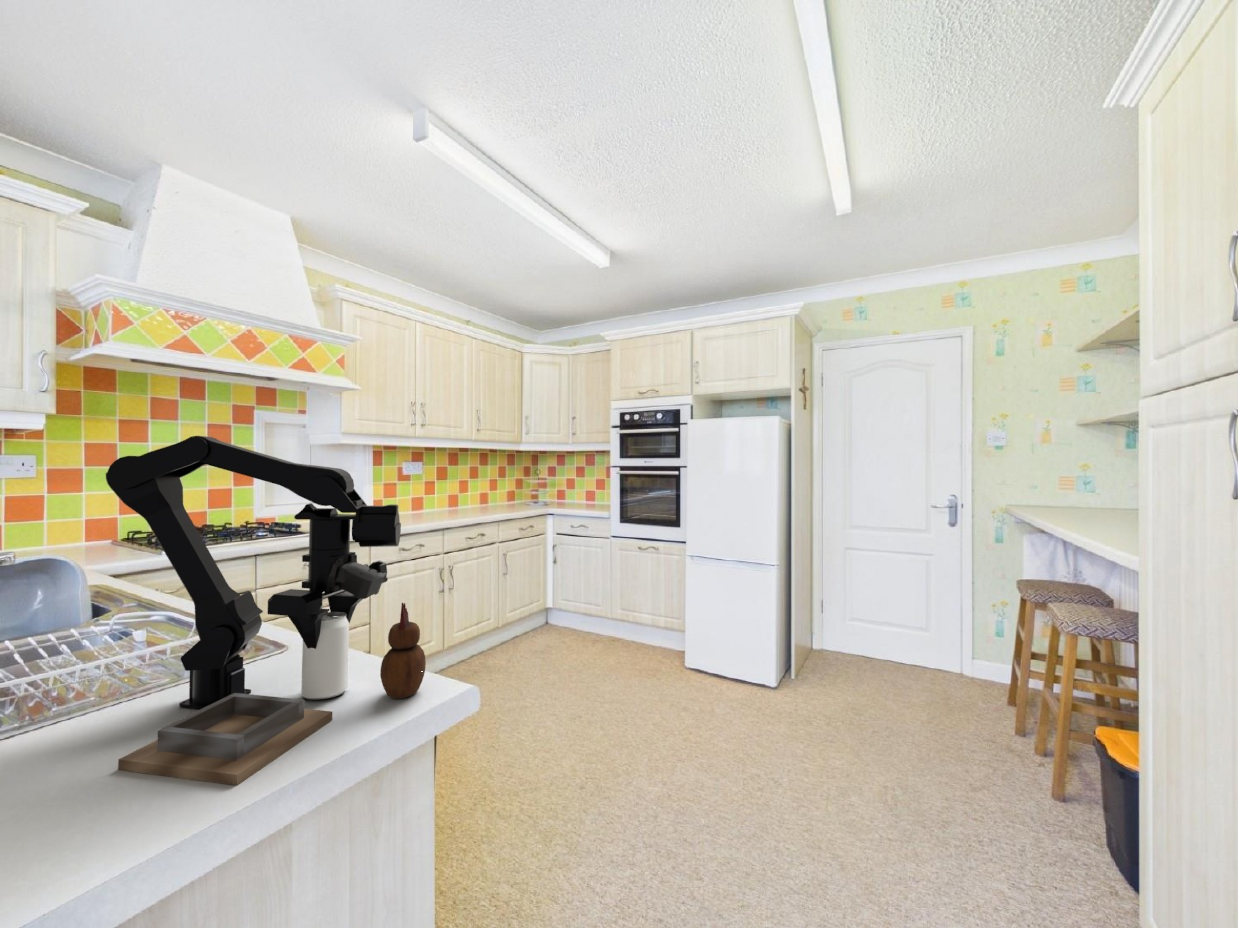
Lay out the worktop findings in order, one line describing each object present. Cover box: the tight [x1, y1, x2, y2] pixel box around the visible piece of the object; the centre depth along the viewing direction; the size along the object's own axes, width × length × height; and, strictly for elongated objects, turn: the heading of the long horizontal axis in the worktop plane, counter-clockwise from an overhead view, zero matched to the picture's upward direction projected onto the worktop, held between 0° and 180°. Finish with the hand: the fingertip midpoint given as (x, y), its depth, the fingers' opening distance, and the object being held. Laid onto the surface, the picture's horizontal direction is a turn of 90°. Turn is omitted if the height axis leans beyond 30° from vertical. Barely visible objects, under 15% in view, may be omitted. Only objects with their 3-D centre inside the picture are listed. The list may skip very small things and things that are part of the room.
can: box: [300, 611, 350, 701], centre depth 86 cm, size 6×6×12 cm
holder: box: [117, 693, 333, 786], centre depth 71 cm, size 16×16×4 cm
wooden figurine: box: [379, 602, 427, 700], centre depth 87 cm, size 7×6×15 cm
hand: (327, 645), depth 87 cm, fingers closed on can, 6 cm apart
